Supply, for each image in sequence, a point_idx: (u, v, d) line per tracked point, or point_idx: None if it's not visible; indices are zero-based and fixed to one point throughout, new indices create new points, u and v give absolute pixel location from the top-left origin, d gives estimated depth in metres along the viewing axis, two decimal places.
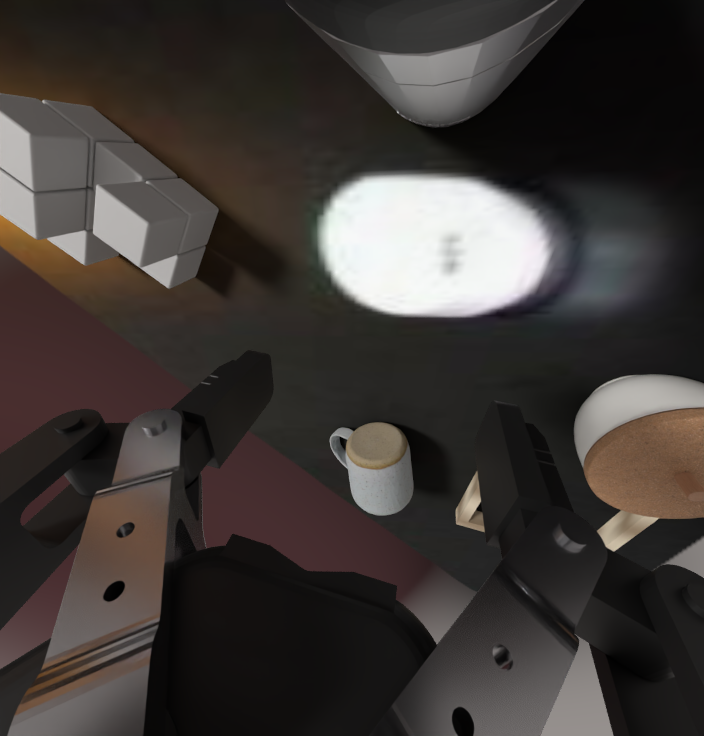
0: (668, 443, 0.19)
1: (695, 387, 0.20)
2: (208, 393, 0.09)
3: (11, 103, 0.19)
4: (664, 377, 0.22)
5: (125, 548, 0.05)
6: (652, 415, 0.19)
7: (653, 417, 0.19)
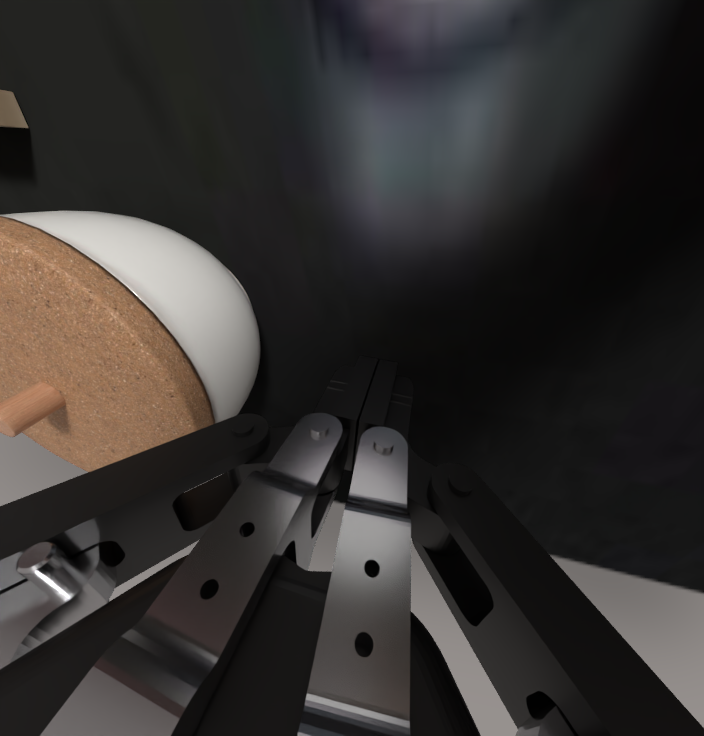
0: (76, 342, 0.08)
1: (241, 353, 0.12)
2: (348, 398, 0.09)
3: None
4: (248, 317, 0.12)
5: (237, 549, 0.05)
6: (129, 294, 0.08)
7: (123, 296, 0.08)
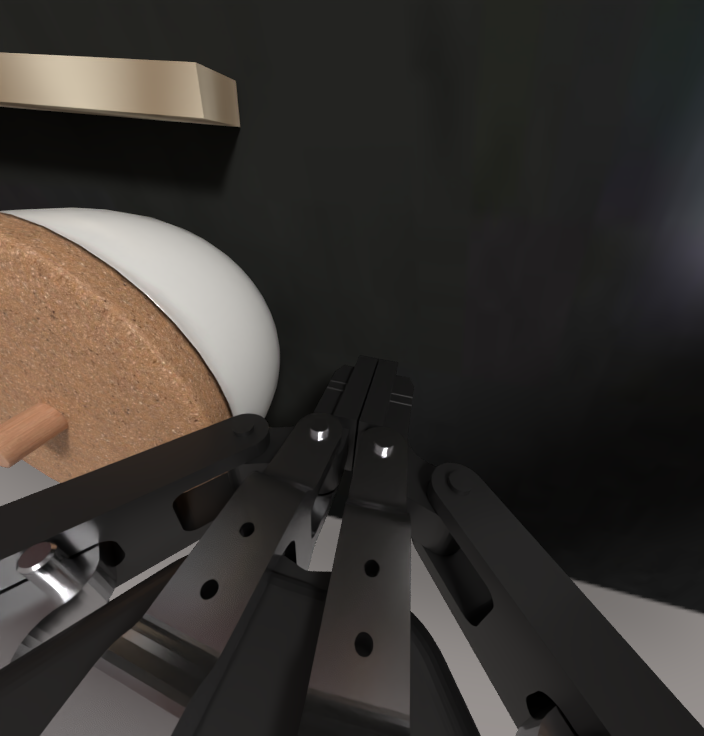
0: (86, 358, 0.07)
1: (264, 367, 0.10)
2: (348, 398, 0.09)
3: None
4: (270, 326, 0.11)
5: (237, 549, 0.05)
6: (149, 304, 0.07)
7: (142, 306, 0.07)
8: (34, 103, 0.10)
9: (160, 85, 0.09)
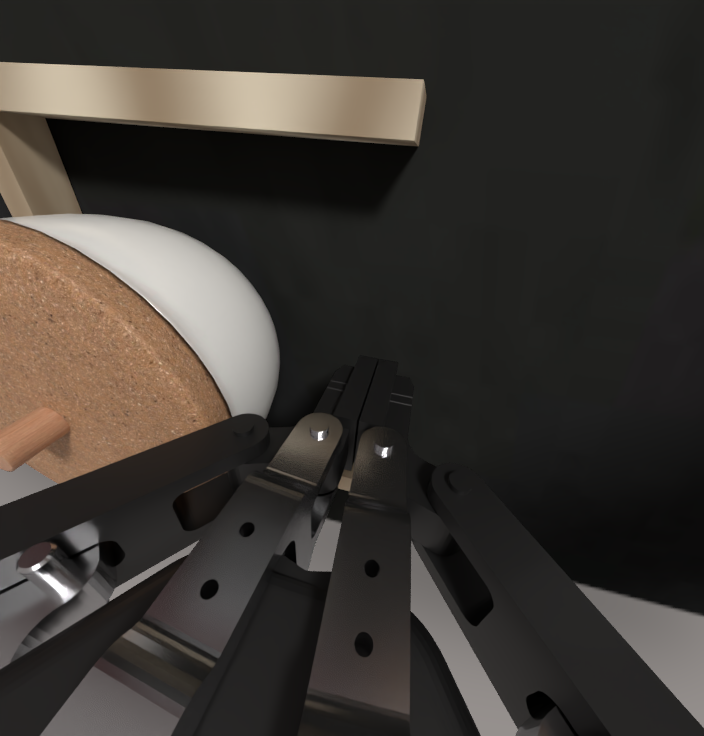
0: (83, 361, 0.07)
1: (263, 367, 0.10)
2: (348, 398, 0.09)
3: None
4: (268, 327, 0.11)
5: (237, 549, 0.05)
6: (145, 305, 0.07)
7: (138, 307, 0.07)
8: (204, 124, 0.09)
9: (370, 104, 0.08)
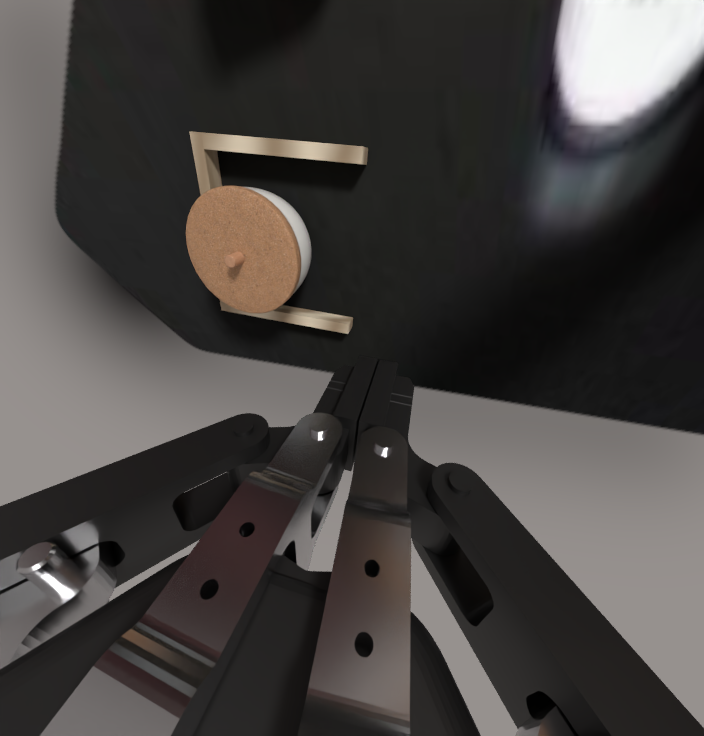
0: (262, 228, 0.24)
1: (307, 247, 0.28)
2: (348, 398, 0.09)
3: None
4: (308, 234, 0.28)
5: (237, 549, 0.05)
6: (280, 211, 0.24)
7: (279, 211, 0.24)
8: (291, 157, 0.26)
9: (347, 153, 0.25)
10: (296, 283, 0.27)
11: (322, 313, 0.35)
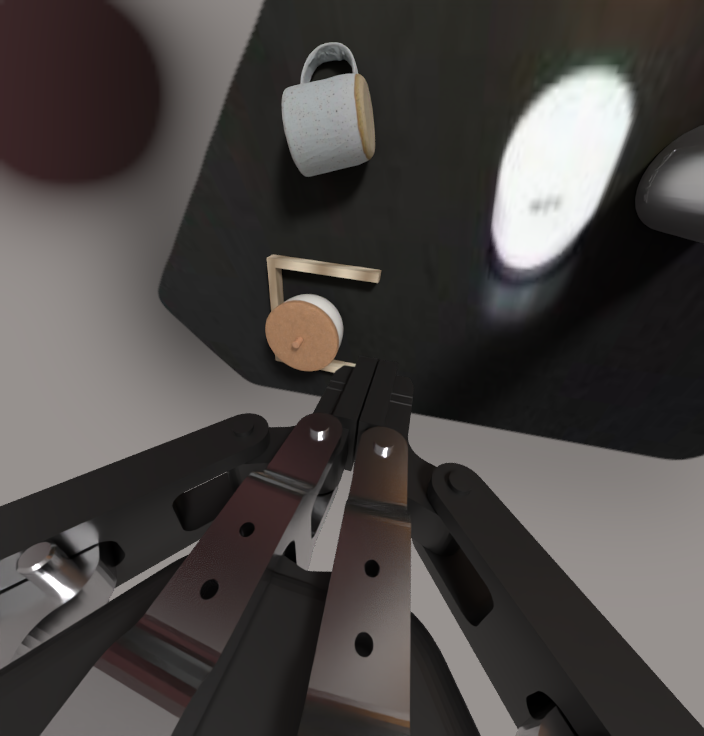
0: (316, 325, 0.39)
1: (342, 330, 0.43)
2: (348, 398, 0.09)
3: None
4: (341, 320, 0.44)
5: (237, 549, 0.05)
6: (327, 315, 0.39)
7: (327, 316, 0.39)
8: (332, 275, 0.41)
9: (368, 276, 0.40)
10: (335, 355, 0.42)
11: (347, 363, 0.50)
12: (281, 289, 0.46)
